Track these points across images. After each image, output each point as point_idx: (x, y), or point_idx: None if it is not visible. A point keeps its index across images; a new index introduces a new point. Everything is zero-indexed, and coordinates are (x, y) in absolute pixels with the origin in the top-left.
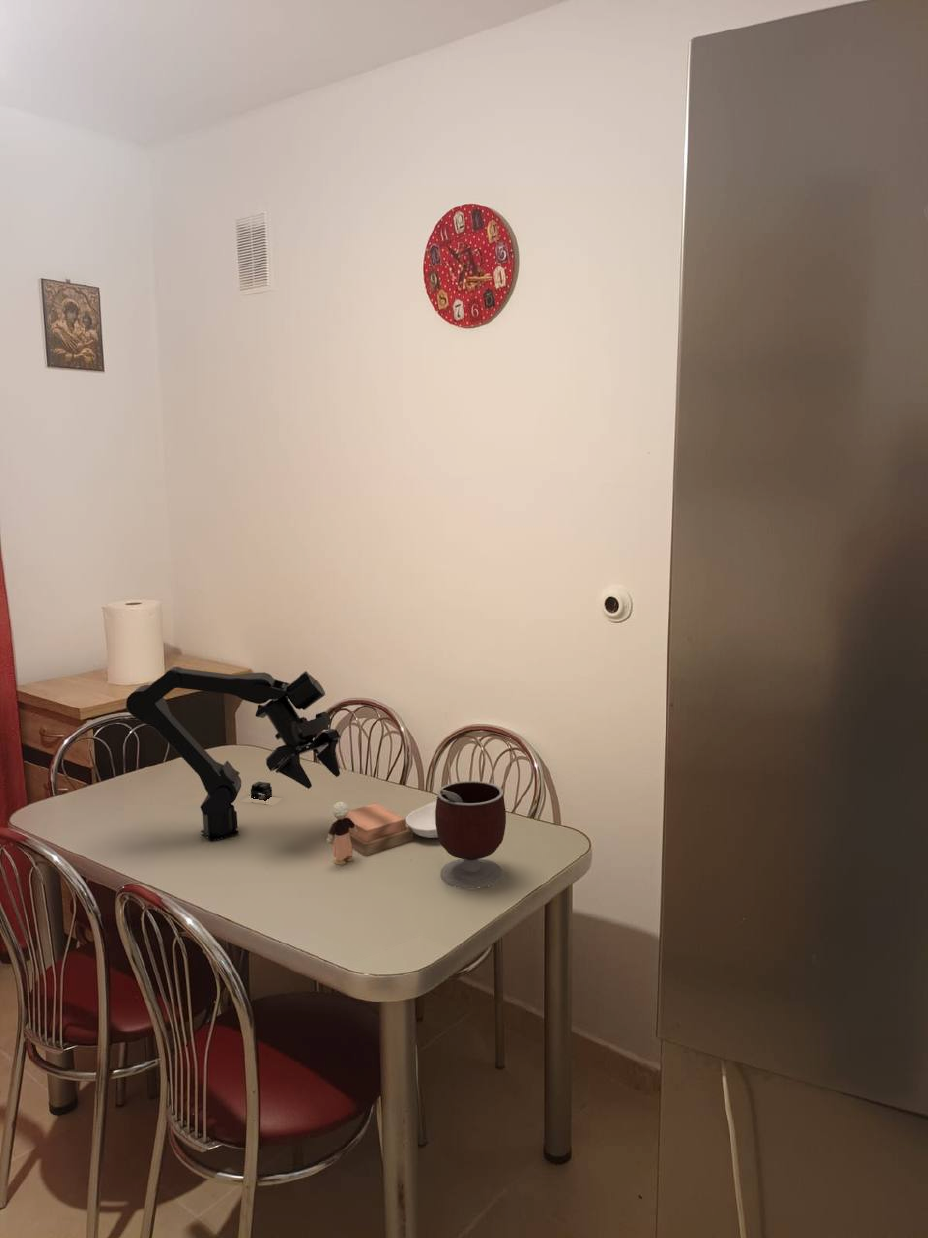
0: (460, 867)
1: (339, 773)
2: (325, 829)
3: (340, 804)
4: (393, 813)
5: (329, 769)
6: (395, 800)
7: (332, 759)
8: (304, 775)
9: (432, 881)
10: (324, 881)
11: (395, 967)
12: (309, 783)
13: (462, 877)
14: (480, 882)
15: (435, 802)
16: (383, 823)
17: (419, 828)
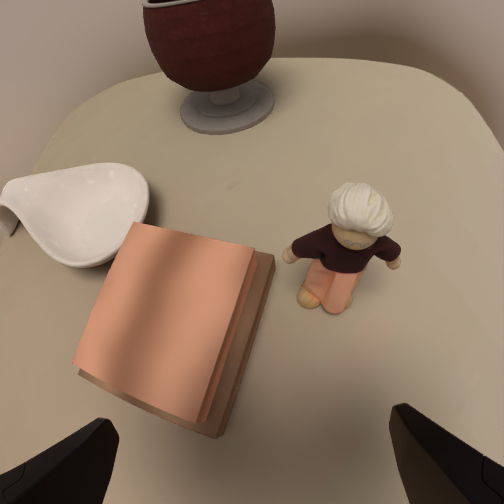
0: (228, 107)
1: (100, 419)
2: (201, 476)
3: (370, 189)
4: (113, 270)
5: (100, 497)
6: (6, 403)
7: (44, 484)
8: (457, 446)
9: (280, 122)
10: (418, 252)
11: (436, 81)
12: (416, 410)
13: (254, 94)
14: (249, 83)
15: (36, 235)
16: (184, 244)
17: (144, 198)
